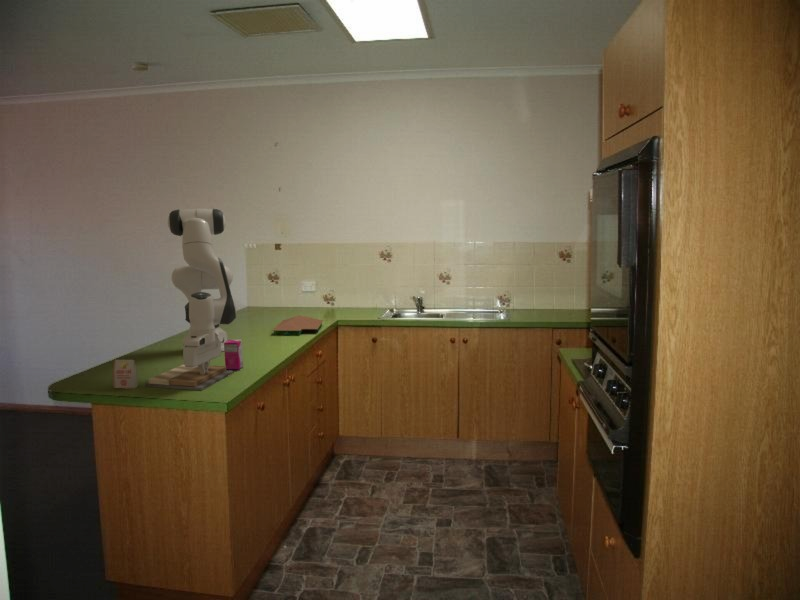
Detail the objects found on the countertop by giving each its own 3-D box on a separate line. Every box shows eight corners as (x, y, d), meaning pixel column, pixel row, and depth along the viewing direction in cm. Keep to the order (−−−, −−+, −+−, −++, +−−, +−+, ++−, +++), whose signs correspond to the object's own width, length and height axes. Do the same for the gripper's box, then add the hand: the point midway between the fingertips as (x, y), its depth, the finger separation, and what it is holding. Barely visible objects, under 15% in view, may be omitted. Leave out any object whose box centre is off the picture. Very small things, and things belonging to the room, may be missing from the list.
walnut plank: (202, 368, 221) (202, 365, 221) (226, 370, 219) (226, 366, 219) (169, 384, 200) (169, 380, 199) (195, 386, 198) (195, 382, 197)
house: (324, 325, 324) (323, 311, 323) (316, 336, 291) (316, 321, 290) (284, 325, 324) (283, 311, 323) (271, 336, 291) (271, 321, 290)
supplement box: (229, 366, 229) (228, 339, 227) (243, 367, 229) (243, 339, 227) (224, 370, 223) (223, 342, 222) (239, 370, 223) (238, 342, 222)
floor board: (182, 369, 223) (182, 363, 223) (233, 373, 219) (233, 366, 219) (145, 386, 201) (145, 379, 201) (201, 390, 197) (201, 383, 196)
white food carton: (118, 385, 202) (117, 358, 200) (137, 385, 202) (136, 358, 200) (113, 388, 198) (112, 361, 197) (133, 388, 198) (131, 361, 197)
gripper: (209, 331, 217) (210, 366, 219) (179, 341, 198) (180, 380, 199) (224, 332, 216) (225, 367, 218) (195, 342, 196) (197, 381, 198)
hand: (204, 373), depth 208 cm, fingers closed, pressing on walnut plank
